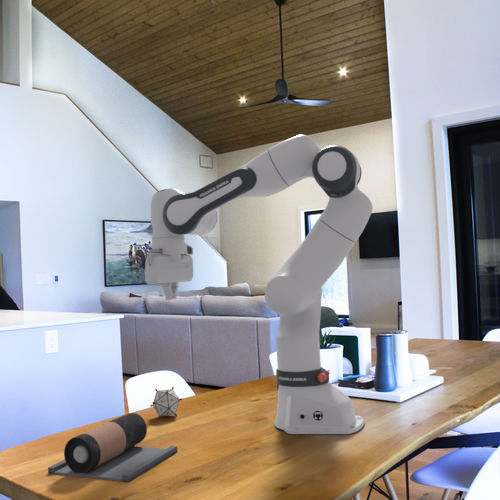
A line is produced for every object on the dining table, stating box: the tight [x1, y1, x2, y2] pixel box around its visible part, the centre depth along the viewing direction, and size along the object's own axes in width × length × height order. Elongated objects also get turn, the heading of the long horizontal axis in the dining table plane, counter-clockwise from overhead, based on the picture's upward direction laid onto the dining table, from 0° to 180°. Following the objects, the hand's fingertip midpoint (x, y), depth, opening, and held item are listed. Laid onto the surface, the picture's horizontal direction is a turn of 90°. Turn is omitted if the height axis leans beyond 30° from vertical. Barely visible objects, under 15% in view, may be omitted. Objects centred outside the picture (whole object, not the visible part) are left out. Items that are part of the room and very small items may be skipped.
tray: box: [47, 445, 178, 483], centre depth 126 cm, size 20×19×1 cm
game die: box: [149, 386, 183, 420], centre depth 163 cm, size 9×8×10 cm
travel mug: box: [63, 412, 148, 473], centre depth 127 cm, size 8×8×20 cm
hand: (171, 299), depth 157 cm, fingers closed
